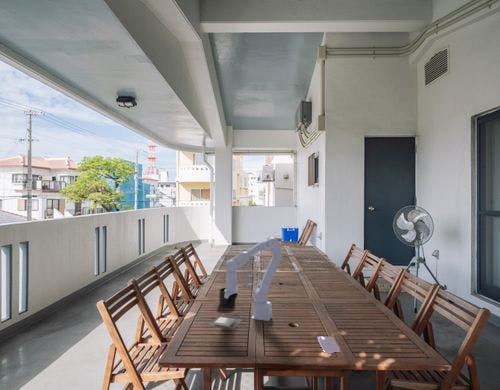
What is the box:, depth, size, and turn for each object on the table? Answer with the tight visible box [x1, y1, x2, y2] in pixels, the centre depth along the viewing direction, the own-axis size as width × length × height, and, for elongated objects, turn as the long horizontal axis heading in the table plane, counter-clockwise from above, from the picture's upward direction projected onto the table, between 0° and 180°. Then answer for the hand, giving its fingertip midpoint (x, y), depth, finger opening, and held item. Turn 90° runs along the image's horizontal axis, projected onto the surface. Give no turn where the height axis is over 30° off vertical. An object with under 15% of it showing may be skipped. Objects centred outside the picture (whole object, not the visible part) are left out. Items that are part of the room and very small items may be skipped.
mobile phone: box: [317, 335, 341, 354], centre depth 148 cm, size 8×1×15 cm
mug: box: [218, 287, 236, 308], centre depth 196 cm, size 9×12×9 cm
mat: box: [208, 315, 243, 330], centre depth 171 cm, size 14×13×1 cm
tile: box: [215, 316, 235, 327], centre depth 170 cm, size 8×1×7 cm
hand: (231, 307), depth 178 cm, fingers closed
